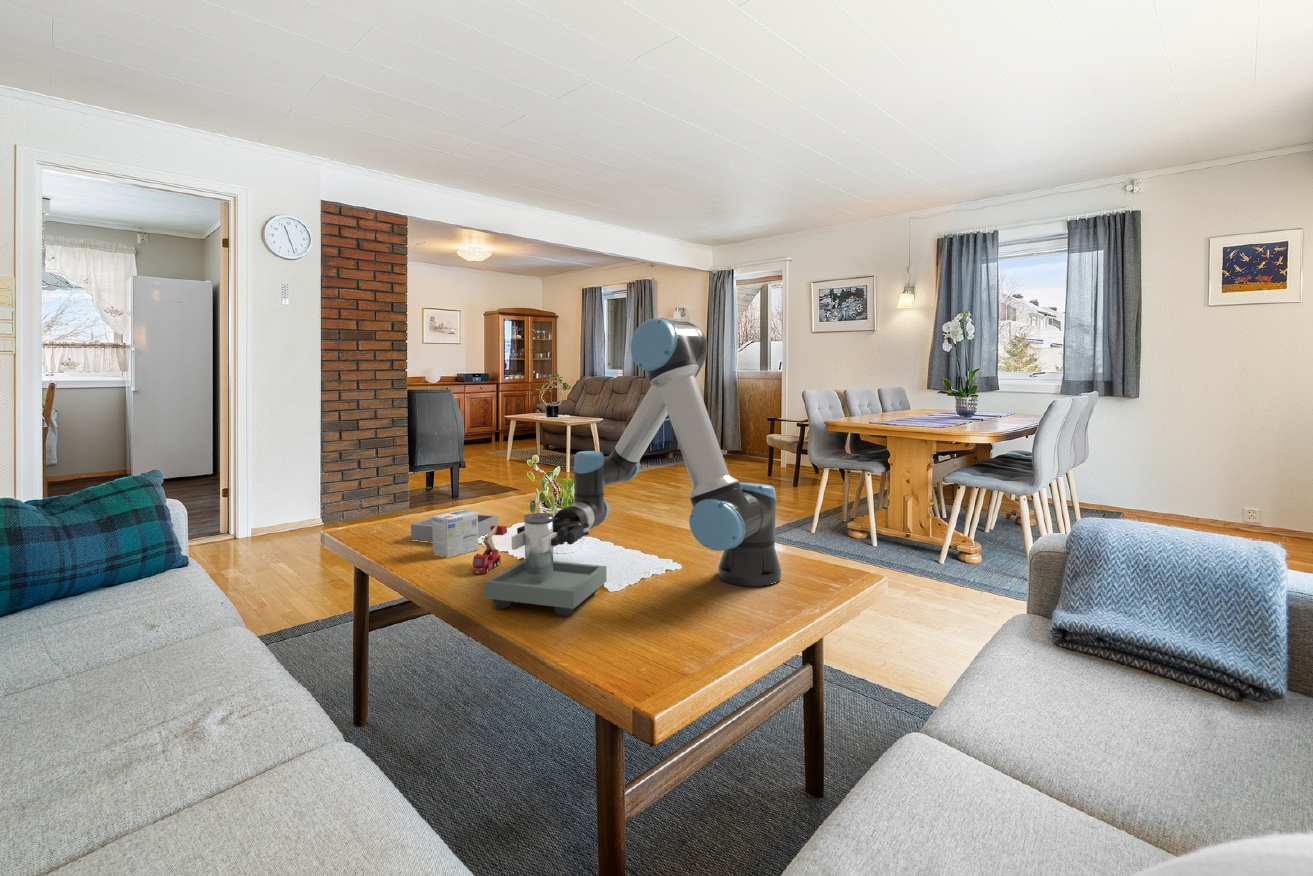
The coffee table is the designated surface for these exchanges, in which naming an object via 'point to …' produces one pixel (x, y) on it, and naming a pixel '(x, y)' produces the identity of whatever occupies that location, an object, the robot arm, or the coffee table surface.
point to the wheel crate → (424, 528)
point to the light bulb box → (455, 533)
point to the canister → (537, 543)
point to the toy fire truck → (489, 552)
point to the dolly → (546, 586)
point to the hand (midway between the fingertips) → (527, 544)
